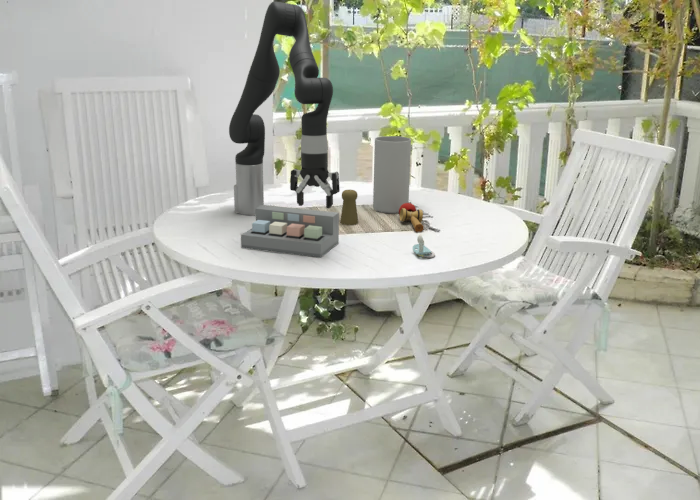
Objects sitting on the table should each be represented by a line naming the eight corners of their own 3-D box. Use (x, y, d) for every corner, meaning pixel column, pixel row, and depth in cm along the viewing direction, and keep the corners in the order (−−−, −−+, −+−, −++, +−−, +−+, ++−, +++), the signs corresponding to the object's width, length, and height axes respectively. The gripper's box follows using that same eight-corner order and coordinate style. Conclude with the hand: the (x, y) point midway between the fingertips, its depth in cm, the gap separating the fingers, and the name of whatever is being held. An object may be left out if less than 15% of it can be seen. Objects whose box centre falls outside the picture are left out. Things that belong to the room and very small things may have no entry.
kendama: (432, 235, 242) (417, 213, 258) (430, 217, 239) (415, 197, 255) (409, 240, 241) (395, 218, 257) (407, 222, 238) (393, 201, 254)
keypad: (241, 247, 222) (240, 216, 219) (263, 234, 235) (262, 204, 232) (320, 257, 214) (320, 225, 211) (338, 243, 228) (338, 212, 225)
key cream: (269, 237, 221) (269, 225, 220) (275, 233, 225) (274, 221, 224) (282, 238, 220) (281, 226, 219) (287, 235, 223) (287, 222, 222)
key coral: (286, 239, 219) (286, 226, 218) (292, 235, 223) (292, 223, 222) (299, 241, 218) (299, 228, 217) (304, 237, 222) (304, 224, 221)
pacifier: (430, 251, 222) (410, 252, 221) (431, 231, 220) (412, 231, 219) (437, 259, 215) (417, 259, 214) (439, 238, 213) (419, 238, 212)
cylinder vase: (367, 206, 270) (368, 137, 263) (398, 203, 275) (400, 135, 268) (382, 215, 259) (384, 142, 252) (414, 212, 264) (417, 140, 257)
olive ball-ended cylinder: (356, 225, 246) (356, 192, 243) (338, 224, 248) (338, 191, 244) (359, 220, 252) (360, 188, 249) (342, 219, 253) (342, 187, 250)
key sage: (304, 241, 218) (304, 228, 217) (309, 237, 221) (309, 225, 220) (317, 243, 217) (317, 230, 215) (322, 239, 220) (322, 226, 219)
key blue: (252, 235, 223) (252, 223, 222) (258, 231, 226) (257, 219, 225) (264, 236, 222) (264, 224, 220) (270, 233, 225) (270, 221, 224)
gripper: (285, 151, 211) (286, 207, 216) (333, 154, 207) (333, 211, 211) (296, 147, 218) (297, 201, 223) (342, 149, 213) (342, 205, 218)
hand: (314, 206), depth 217 cm, fingers open, 8 cm apart
